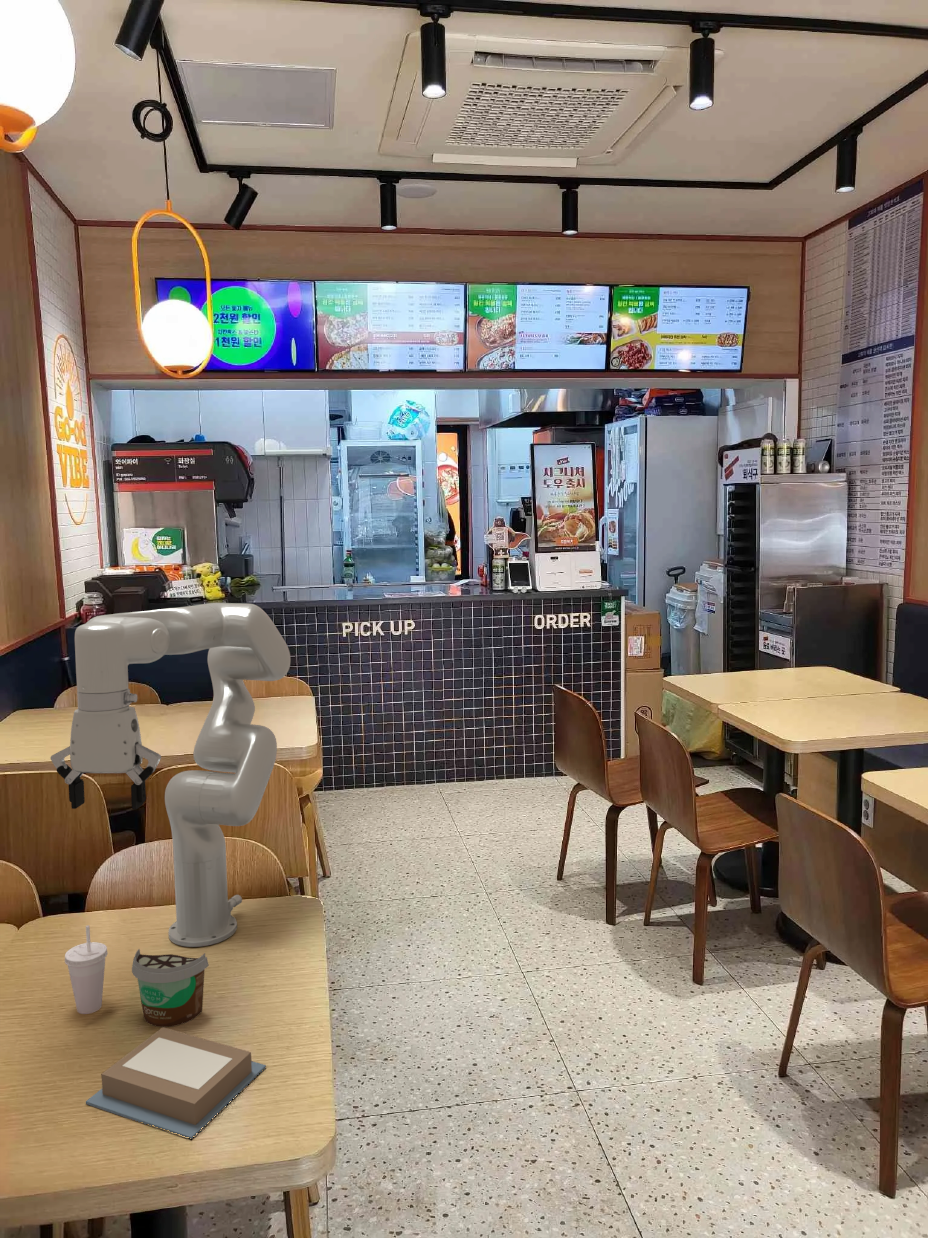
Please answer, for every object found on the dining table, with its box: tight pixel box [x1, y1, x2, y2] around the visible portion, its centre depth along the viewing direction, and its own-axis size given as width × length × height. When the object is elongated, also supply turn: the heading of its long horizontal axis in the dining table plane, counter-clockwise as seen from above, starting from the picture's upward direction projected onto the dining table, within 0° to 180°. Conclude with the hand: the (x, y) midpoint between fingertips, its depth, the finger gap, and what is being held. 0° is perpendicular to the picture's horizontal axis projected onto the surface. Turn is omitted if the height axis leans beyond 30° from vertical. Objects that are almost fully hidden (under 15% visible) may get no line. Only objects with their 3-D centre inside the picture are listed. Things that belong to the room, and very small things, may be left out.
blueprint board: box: [85, 1027, 267, 1140], centre depth 123 cm, size 16×18×4 cm
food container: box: [131, 948, 210, 1028], centre depth 139 cm, size 12×6×10 cm, turn 82°
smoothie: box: [64, 925, 108, 1015], centre depth 142 cm, size 6×6×14 cm
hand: (108, 806), depth 141 cm, fingers open, 9 cm apart
